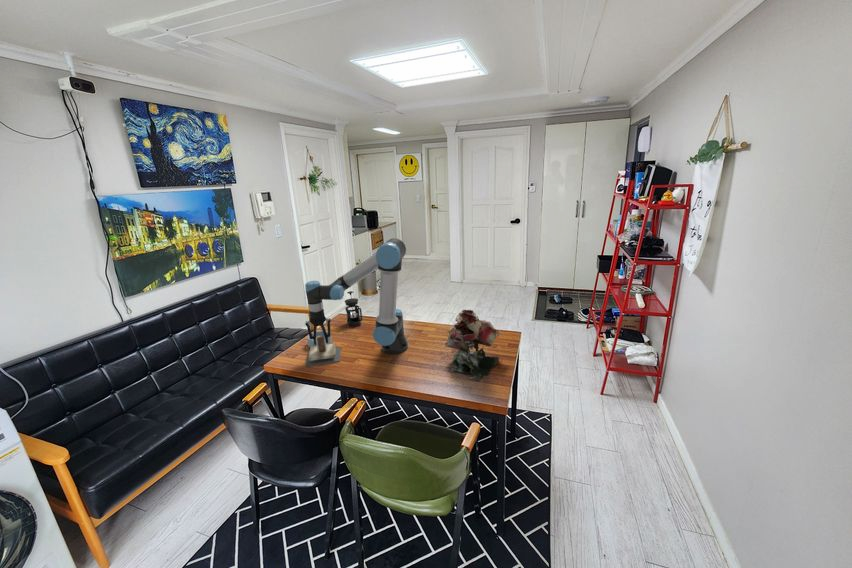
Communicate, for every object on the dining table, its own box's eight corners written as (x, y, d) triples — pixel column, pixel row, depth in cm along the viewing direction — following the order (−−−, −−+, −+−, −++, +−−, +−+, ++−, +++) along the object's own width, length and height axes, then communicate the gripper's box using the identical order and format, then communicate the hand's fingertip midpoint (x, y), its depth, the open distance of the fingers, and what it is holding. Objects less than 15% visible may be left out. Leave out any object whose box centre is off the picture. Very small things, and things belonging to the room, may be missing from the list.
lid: (336, 345, 205) (334, 330, 202) (335, 357, 192) (333, 341, 189) (311, 349, 203) (308, 333, 200) (308, 361, 190) (305, 345, 187)
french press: (343, 325, 238) (339, 293, 231) (351, 320, 246) (347, 289, 239) (358, 327, 233) (354, 294, 226) (366, 322, 242) (362, 290, 235)
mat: (340, 348, 207) (340, 347, 207) (339, 361, 192) (339, 360, 192) (308, 352, 204) (308, 351, 204) (305, 366, 189) (305, 365, 189)
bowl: (331, 338, 221) (330, 329, 219) (330, 347, 209) (329, 338, 207) (310, 341, 218) (308, 332, 216) (308, 350, 206) (306, 341, 204)
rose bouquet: (502, 355, 190) (503, 303, 180) (483, 383, 166) (482, 325, 157) (459, 346, 202) (457, 296, 193) (434, 371, 178) (431, 316, 169)
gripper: (332, 305, 194) (337, 343, 202) (300, 309, 191) (307, 347, 199) (331, 310, 187) (337, 349, 195) (299, 314, 184) (305, 354, 192)
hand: (322, 348), depth 197 cm, fingers closed on lid, 4 cm apart
